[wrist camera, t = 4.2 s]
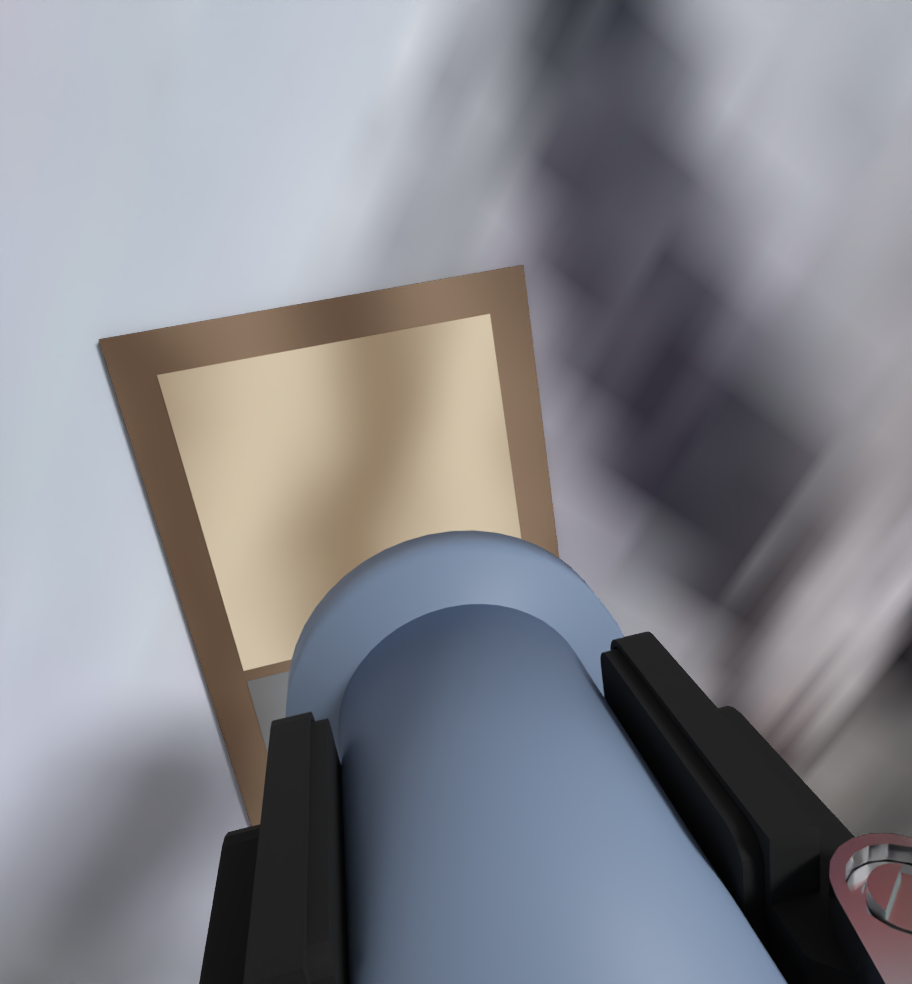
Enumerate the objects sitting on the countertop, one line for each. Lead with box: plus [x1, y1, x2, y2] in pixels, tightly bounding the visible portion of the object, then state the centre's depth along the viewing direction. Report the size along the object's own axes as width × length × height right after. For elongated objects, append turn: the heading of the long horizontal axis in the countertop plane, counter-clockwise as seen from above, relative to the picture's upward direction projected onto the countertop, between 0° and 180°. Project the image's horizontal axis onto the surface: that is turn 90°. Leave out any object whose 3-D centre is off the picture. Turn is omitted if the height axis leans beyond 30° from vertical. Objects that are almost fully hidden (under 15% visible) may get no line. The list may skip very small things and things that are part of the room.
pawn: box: [285, 530, 788, 984], centre depth 7 cm, size 6×6×11 cm
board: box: [99, 265, 559, 826], centre depth 26 cm, size 12×32×1 cm, turn 9°
